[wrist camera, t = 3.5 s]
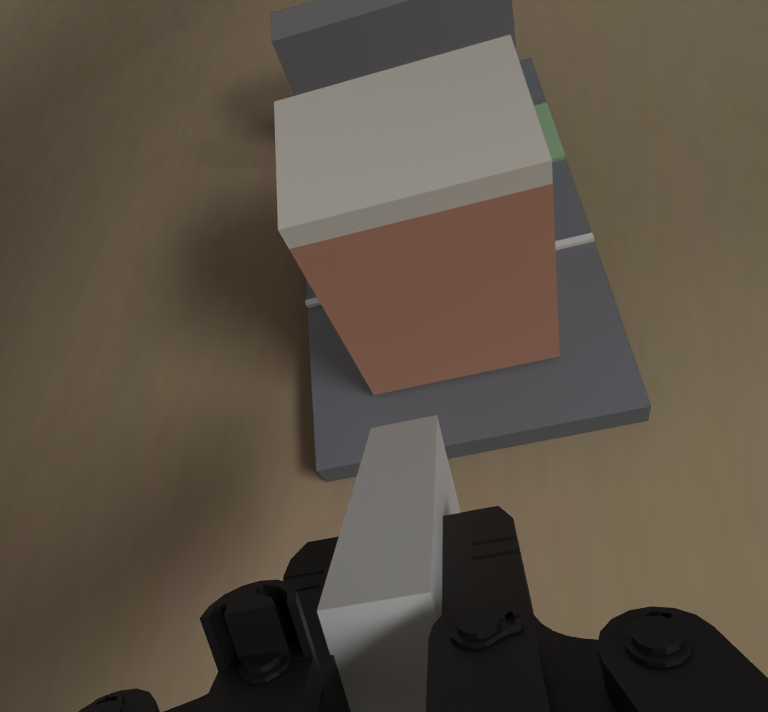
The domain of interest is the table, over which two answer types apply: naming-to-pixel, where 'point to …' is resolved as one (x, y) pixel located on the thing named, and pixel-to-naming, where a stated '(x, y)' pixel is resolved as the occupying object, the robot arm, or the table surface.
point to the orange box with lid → (424, 215)
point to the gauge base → (572, 244)
